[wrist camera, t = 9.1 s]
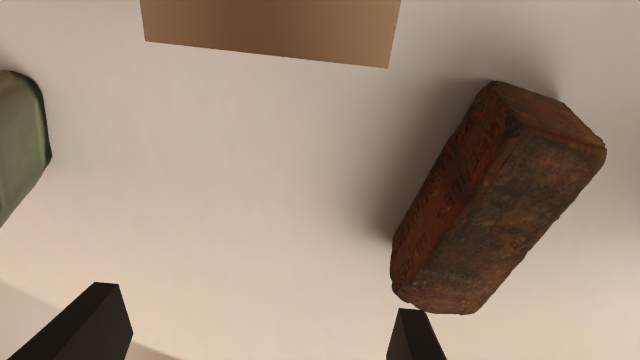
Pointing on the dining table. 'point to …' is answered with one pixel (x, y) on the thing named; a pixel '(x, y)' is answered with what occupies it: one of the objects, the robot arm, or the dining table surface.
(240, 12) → the walnut cube
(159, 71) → the dining table surface
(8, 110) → the tan tapered stone
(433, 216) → the brick
